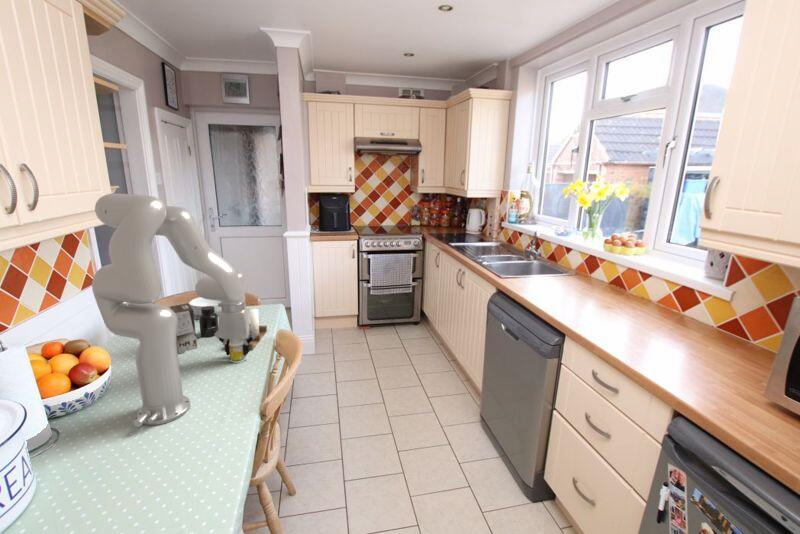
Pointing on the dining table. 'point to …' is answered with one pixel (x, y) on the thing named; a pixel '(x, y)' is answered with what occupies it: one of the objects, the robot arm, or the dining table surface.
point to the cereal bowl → (204, 305)
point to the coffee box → (185, 328)
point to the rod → (254, 319)
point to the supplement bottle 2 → (236, 350)
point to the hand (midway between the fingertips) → (237, 353)
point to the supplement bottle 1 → (208, 322)
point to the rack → (256, 340)
